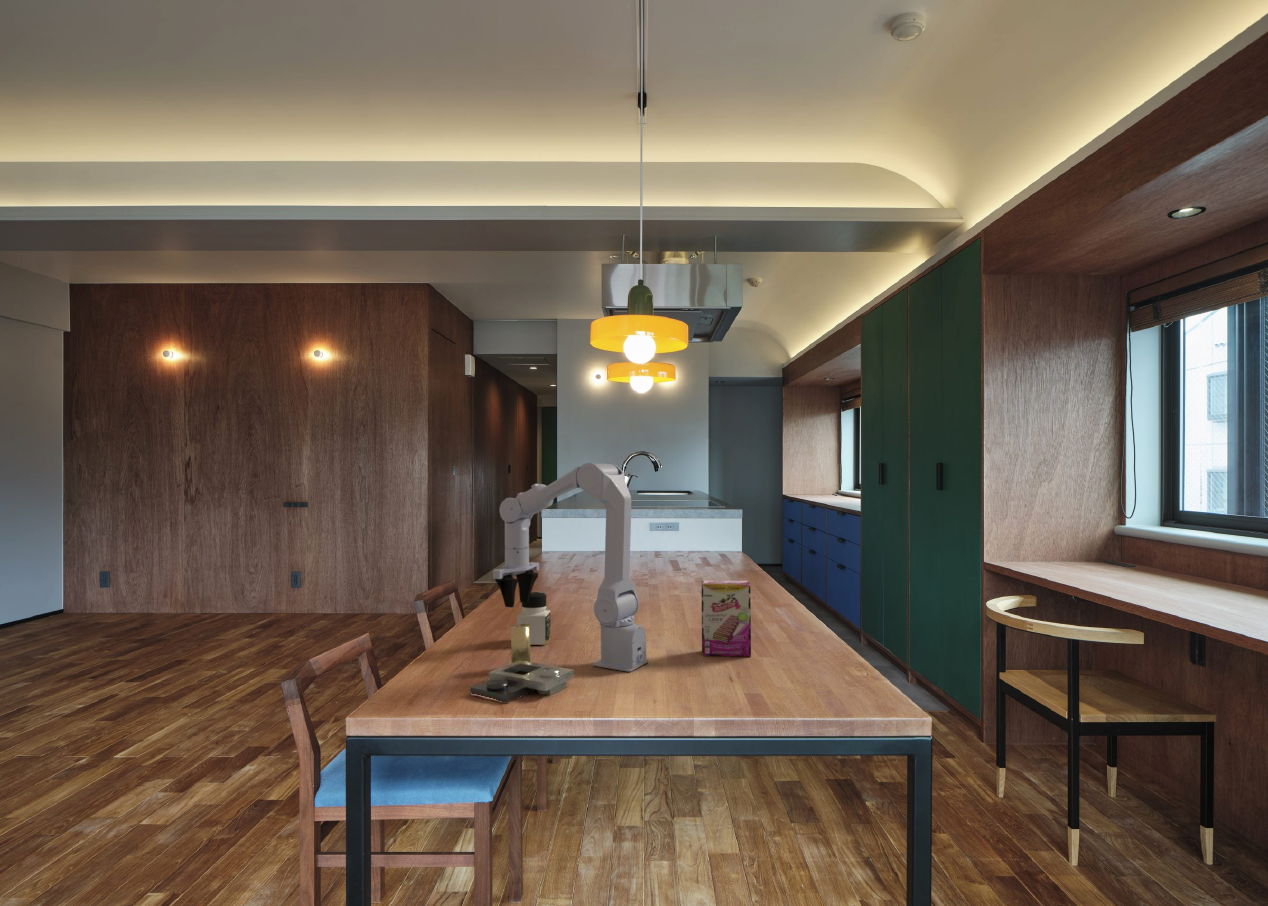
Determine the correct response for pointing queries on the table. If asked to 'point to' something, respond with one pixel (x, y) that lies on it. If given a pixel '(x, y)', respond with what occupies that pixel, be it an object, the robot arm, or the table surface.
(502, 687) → the black base board
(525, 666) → the grey square hole plate
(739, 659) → the table surface
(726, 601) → the candy bar box
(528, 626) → the brass pin
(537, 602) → the medicine bottle
